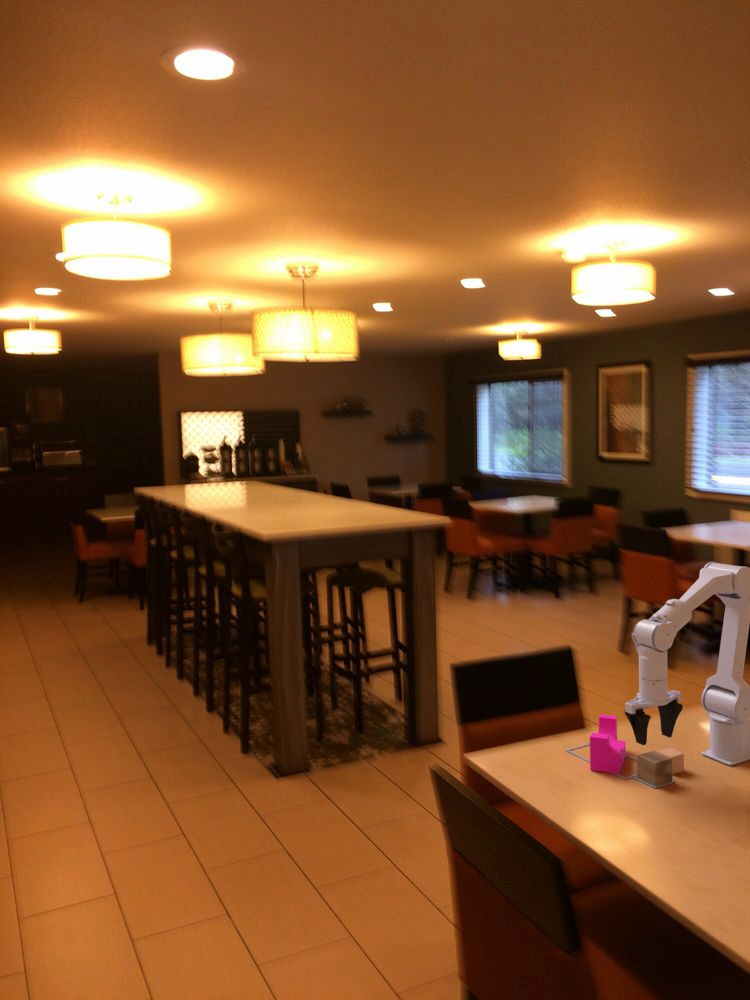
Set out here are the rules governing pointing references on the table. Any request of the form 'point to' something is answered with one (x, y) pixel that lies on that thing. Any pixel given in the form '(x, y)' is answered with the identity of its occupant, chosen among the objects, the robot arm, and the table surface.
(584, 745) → the frame
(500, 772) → the table surface
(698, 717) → the table surface
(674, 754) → the terracotta block
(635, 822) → the table surface
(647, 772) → the walnut cube
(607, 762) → the toy block
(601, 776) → the table surface
